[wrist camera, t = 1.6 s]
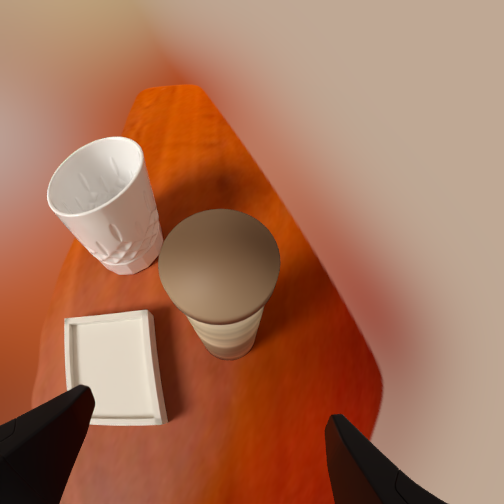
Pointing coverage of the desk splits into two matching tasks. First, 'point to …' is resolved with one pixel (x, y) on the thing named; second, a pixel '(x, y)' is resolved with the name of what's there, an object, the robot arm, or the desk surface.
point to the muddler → (221, 277)
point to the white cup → (109, 203)
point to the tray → (116, 367)
